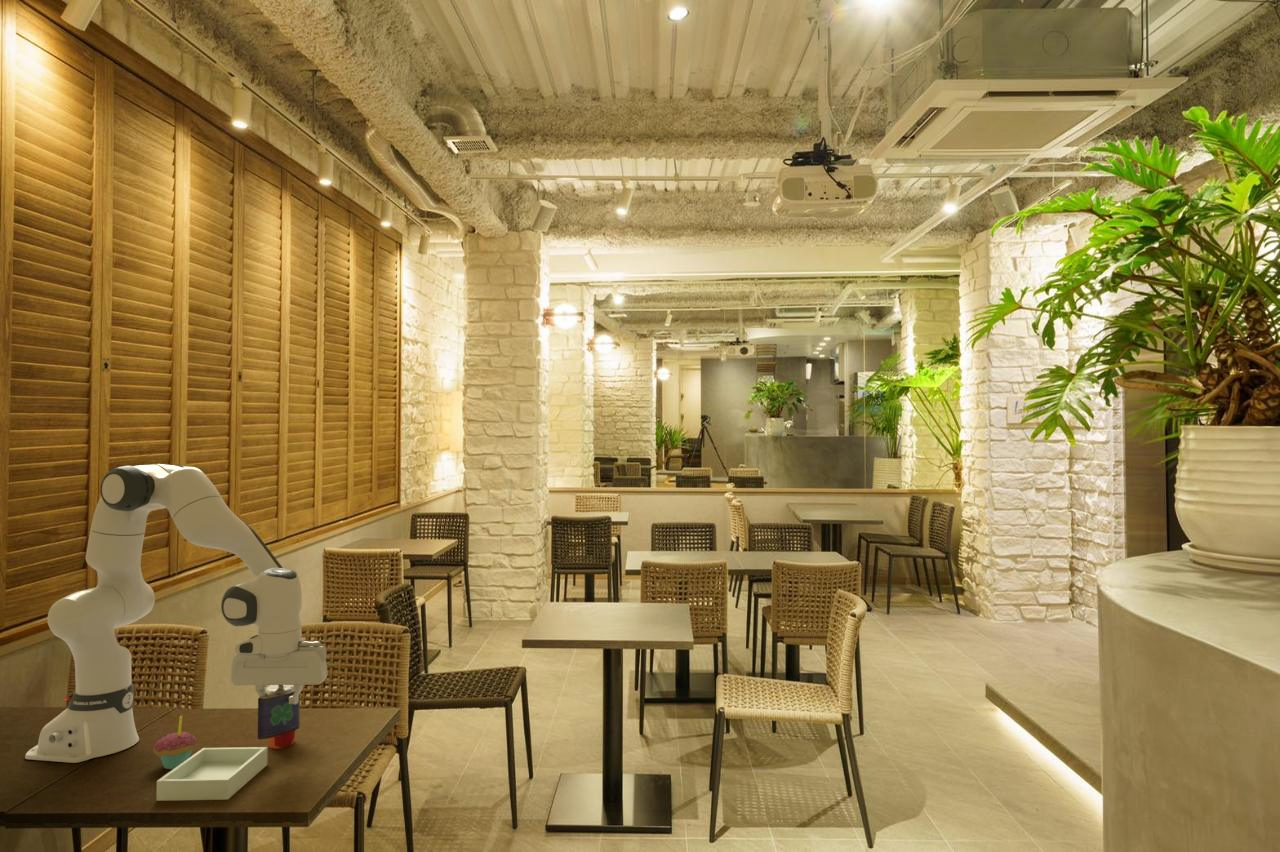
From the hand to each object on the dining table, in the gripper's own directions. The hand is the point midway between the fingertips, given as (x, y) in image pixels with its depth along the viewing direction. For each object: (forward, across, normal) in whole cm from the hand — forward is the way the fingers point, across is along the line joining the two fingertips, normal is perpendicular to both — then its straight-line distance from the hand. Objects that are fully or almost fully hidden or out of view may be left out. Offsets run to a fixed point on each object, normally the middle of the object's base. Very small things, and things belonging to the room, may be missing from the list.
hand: (279, 703), depth 167 cm
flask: (+7, 0, 0) cm, 7 cm away
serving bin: (+15, +12, +5) cm, 20 cm away
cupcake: (+15, +26, -4) cm, 30 cm away
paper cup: (+15, +7, -15) cm, 22 cm away
